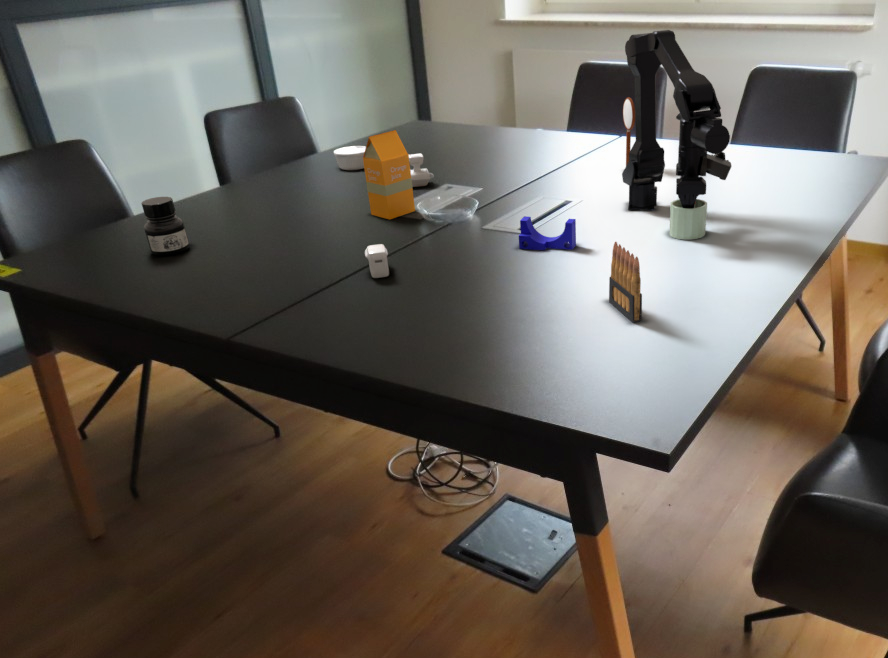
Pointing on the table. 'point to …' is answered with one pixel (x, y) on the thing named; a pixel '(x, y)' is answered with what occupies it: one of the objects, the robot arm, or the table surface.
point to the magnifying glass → (628, 122)
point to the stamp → (419, 171)
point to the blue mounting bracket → (539, 242)
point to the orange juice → (388, 176)
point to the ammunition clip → (625, 284)
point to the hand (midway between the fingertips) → (688, 215)
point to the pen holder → (688, 220)
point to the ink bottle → (164, 227)
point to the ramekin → (350, 157)
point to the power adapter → (377, 260)
